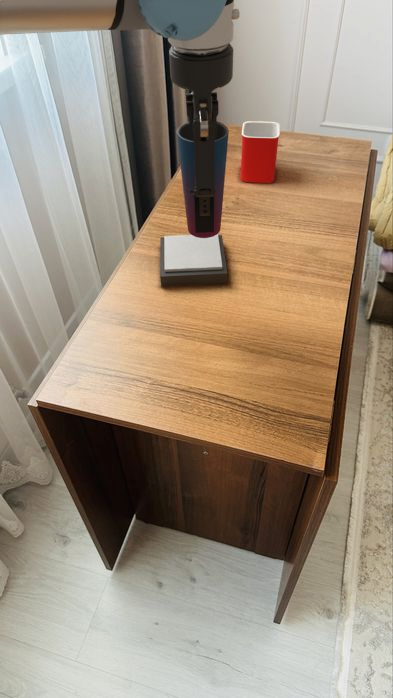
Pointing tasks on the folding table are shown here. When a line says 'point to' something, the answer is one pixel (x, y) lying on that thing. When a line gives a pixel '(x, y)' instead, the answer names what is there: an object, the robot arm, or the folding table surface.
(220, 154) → the cup
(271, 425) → the folding table surface
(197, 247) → the scale
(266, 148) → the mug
